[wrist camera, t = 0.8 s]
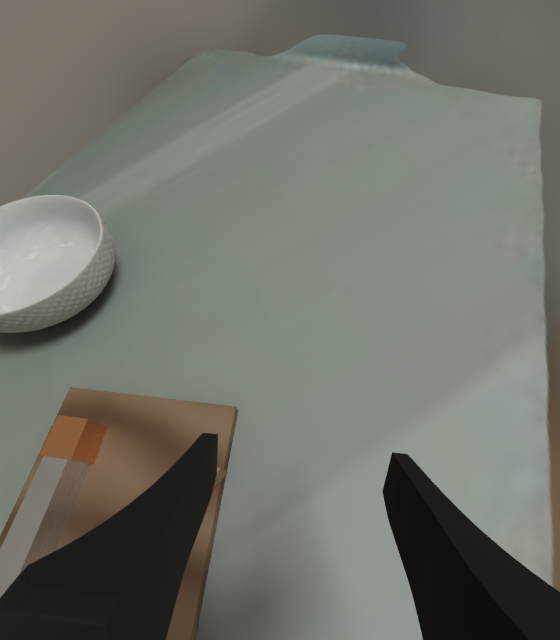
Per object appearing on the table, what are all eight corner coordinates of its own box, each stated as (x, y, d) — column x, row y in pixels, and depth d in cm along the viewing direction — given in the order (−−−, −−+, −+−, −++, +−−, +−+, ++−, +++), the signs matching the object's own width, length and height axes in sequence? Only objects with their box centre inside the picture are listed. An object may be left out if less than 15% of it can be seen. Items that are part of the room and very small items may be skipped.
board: (167, 786, 18) (157, 808, 17) (-72, 728, 20) (-98, 744, 18) (238, 410, 29) (235, 406, 28) (79, 392, 31) (70, 387, 29)
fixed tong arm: (51, 772, 18) (7, 821, 15) (-58, 745, 18) (-118, 788, 16) (155, 432, 27) (140, 425, 24) (80, 423, 28) (57, 414, 25)
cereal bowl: (156, 248, 40) (131, 203, 34) (85, 366, 32) (35, 335, 26) (45, 228, 43) (3, 183, 36) (-46, 332, 35) (-119, 297, 29)
